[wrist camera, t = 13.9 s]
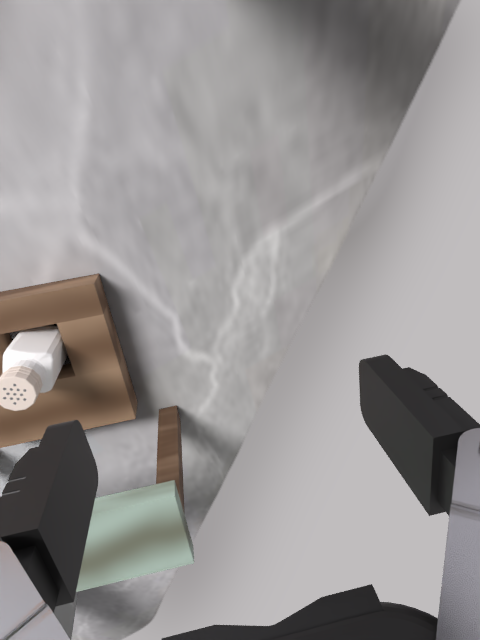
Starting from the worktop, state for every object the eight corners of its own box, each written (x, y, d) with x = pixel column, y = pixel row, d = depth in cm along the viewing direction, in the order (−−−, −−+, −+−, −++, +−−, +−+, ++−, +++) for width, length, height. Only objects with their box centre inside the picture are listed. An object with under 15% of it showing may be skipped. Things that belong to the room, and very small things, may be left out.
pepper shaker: (24, 320, 41) (-15, 369, 32) (68, 325, 41) (42, 374, 33) (24, 357, 42) (-13, 413, 33) (67, 360, 43) (41, 417, 34)
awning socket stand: (-106, 311, 38) (-299, 433, 23) (146, 264, 40) (131, 346, 24) (-23, 468, 46) (-123, 640, 30) (185, 422, 48) (194, 563, 32)
